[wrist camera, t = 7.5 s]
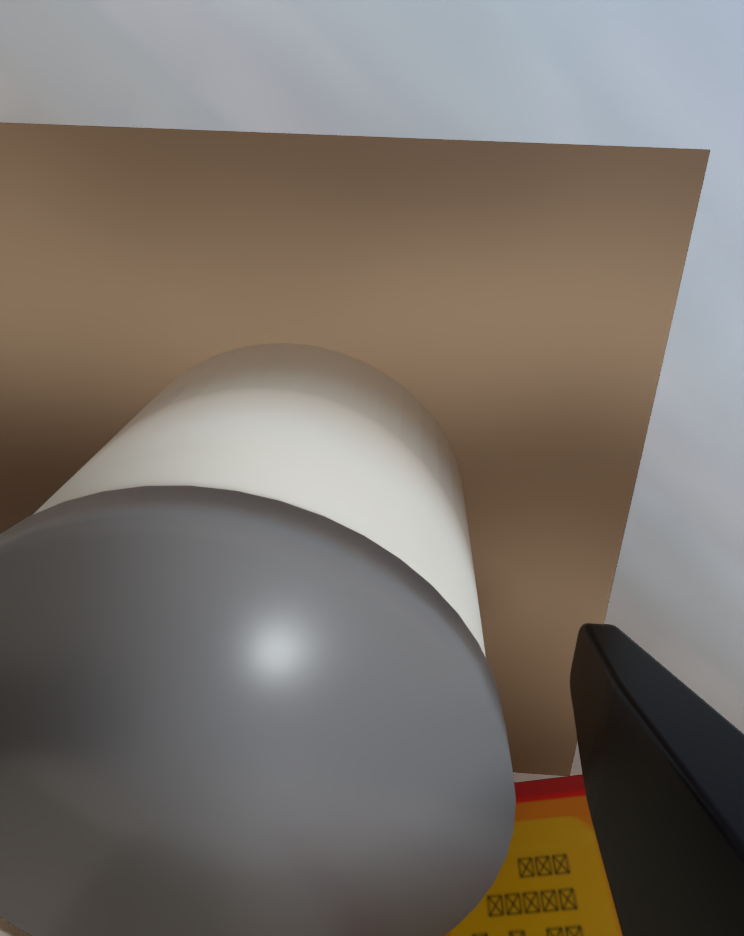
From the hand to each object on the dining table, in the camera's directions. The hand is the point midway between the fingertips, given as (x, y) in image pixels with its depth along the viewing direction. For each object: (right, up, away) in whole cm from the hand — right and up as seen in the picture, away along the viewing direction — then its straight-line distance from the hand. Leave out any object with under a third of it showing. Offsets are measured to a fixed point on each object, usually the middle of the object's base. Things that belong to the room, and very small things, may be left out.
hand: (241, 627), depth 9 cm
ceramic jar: (0, +1, +3) cm, 3 cm away
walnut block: (0, +3, +6) cm, 7 cm away
